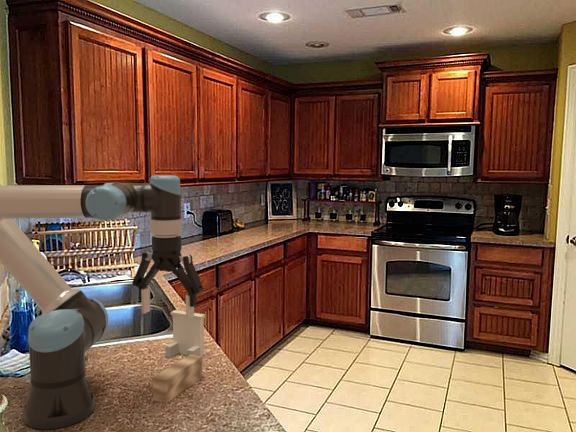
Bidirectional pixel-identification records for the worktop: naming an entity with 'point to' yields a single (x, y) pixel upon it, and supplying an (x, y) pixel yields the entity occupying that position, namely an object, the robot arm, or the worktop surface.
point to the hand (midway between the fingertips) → (167, 315)
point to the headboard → (186, 335)
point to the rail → (177, 378)
